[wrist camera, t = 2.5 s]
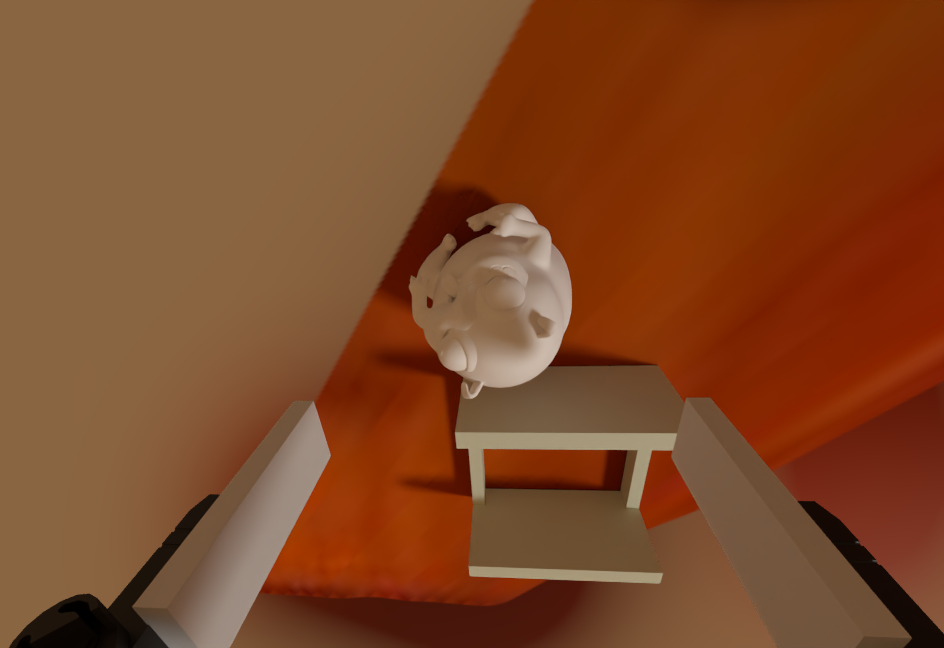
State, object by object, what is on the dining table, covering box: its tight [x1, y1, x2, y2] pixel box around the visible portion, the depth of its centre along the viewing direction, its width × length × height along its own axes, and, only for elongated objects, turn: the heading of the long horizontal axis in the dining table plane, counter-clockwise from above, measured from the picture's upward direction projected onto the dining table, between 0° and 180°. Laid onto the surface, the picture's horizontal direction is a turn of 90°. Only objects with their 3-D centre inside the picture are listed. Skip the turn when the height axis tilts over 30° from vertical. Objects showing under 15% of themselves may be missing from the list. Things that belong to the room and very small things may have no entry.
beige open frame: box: [455, 365, 685, 583], centre depth 32 cm, size 17×16×8 cm
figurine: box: [409, 203, 572, 399], centre depth 23 cm, size 10×10×12 cm
